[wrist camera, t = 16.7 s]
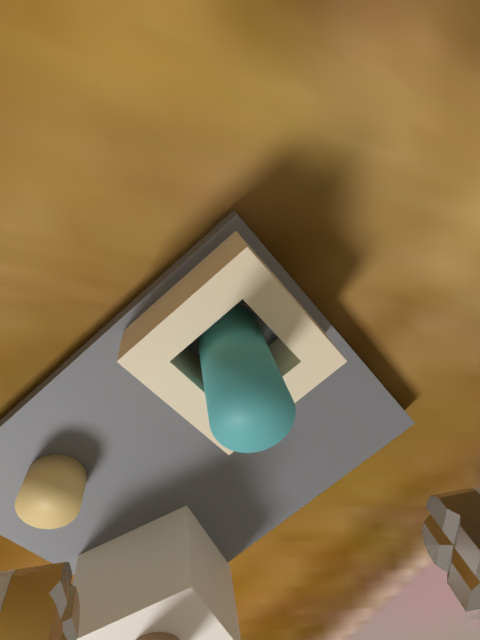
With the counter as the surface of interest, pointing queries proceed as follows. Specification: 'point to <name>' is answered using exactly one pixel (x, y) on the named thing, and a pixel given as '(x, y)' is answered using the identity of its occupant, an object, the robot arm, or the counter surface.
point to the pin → (243, 385)
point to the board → (186, 414)
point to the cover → (157, 585)
